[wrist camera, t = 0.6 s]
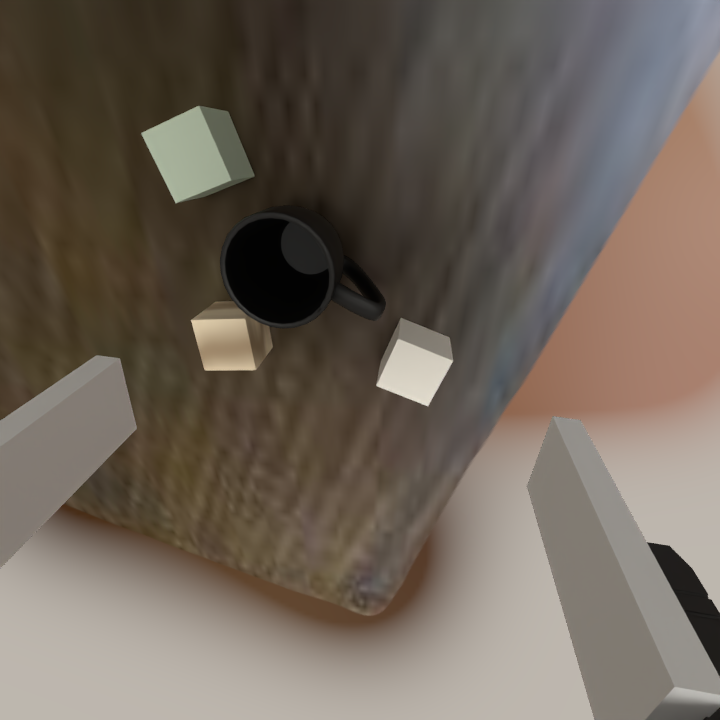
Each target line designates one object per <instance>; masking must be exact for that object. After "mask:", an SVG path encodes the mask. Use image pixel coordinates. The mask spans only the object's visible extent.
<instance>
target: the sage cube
mask: <svg viewBox="0 0 720 720" xmlns="http://www.w3.org/2000/svg"><path fill="white" fill-rule="evenodd" d="M141 134H142V136H143V138H144V140H145V142H146V144H147V146H148V148H149V150H150V152H151V154H152V156H153V158H154V160H155V162H156V164H157V166H158V168H159V170H160V172H161V174H162V176H163V178H164V180H165V182H166V185H167V187H168V189H169V191H170V193H171V195H172V197H173V199H174V201H175V203H179V202H183V201H188V200H192V199H197V198H201V197H206V196H208V195H210V194H213V193H215V192H218V191H220V190H223V189H225V188H228V187H230V186H233V185H235V184H237V183H240V182H242V181H245V180H247V179H250V178H252V177H255V175H254V173H253V170H252V168H251V166H250V163H249V161H248V158H247V156H246V153H245V151H244V149H243V146H242V144H241V141H240V139H239V137H238V134H237V132H236V129H235V127H234V124H233V122H232V120H231V117H230V115H229V112H228V111H223V110H218V109H213V108H208V107H203V106H197V107H195V108H193V109H191V110H189V111H187V112H185V113H183V114H180V115H178V116H176V117H174V118H172V119H170V120H168V121H166V122H164V123H162V124H160V125H157V126H155V127H153V128H151V129H149V130H147V131H145V132H143V133H141Z"/></svg>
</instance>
